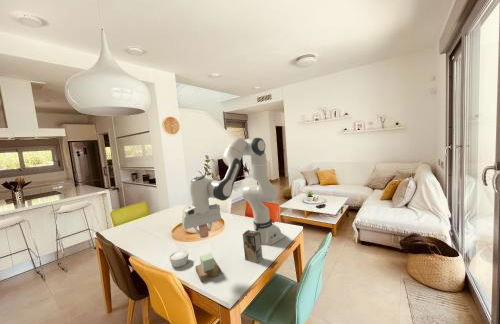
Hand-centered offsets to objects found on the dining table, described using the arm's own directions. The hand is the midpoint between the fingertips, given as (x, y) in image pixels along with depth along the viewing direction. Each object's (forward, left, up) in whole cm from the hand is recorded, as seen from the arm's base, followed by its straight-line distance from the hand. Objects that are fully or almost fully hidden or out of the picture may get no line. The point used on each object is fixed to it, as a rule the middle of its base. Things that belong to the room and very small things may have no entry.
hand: (203, 232), depth 113 cm
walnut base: (0, 0, -23) cm, 23 cm away
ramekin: (+12, -20, -24) cm, 33 cm away
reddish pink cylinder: (0, 0, -2) cm, 2 cm away
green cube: (0, 0, -20) cm, 20 cm away
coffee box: (-27, +3, -24) cm, 36 cm away
